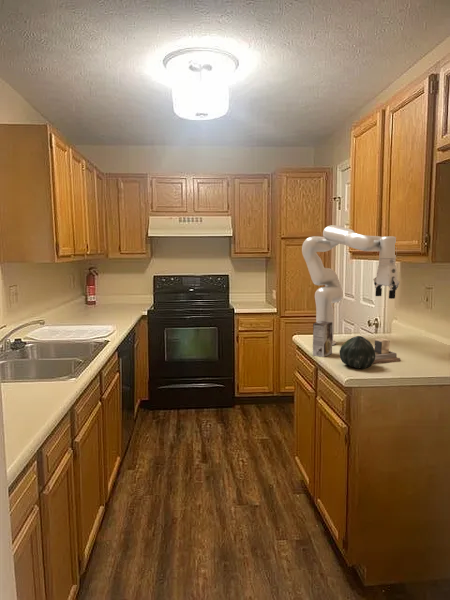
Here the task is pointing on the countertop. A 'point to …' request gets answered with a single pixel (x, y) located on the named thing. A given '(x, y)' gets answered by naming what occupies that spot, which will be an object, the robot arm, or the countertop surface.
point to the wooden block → (381, 346)
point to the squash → (357, 352)
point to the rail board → (386, 358)
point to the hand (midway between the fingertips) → (384, 297)
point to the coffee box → (322, 338)
